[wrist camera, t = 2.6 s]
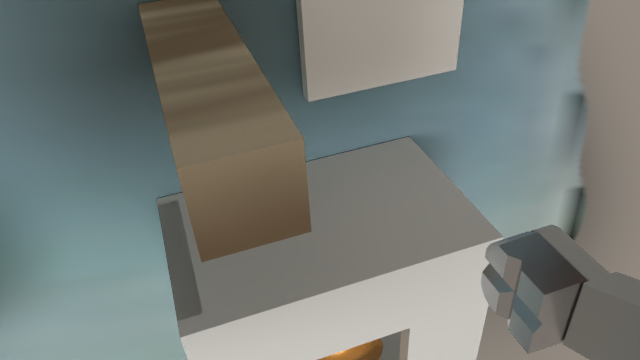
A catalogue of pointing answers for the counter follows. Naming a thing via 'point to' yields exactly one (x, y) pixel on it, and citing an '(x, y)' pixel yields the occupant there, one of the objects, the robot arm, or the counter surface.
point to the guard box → (343, 268)
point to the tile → (374, 42)
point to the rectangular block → (225, 131)
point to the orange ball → (359, 352)
